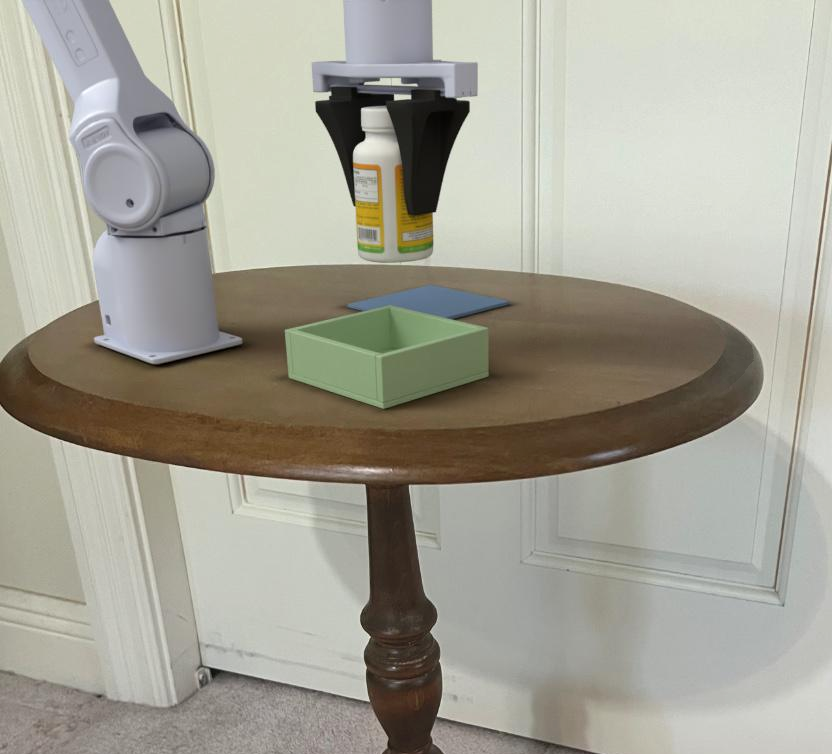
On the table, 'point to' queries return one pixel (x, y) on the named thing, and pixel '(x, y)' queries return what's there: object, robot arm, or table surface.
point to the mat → (433, 302)
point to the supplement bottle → (385, 197)
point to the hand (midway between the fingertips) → (394, 209)
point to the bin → (387, 355)
